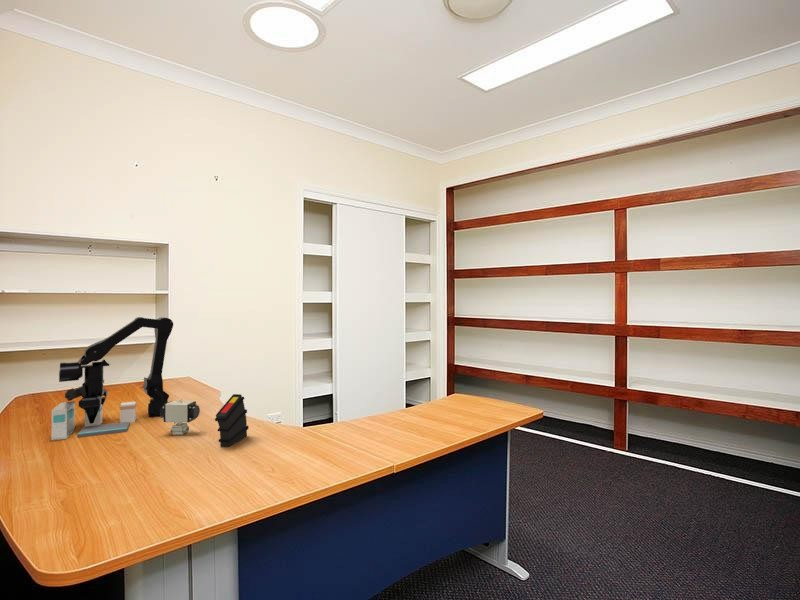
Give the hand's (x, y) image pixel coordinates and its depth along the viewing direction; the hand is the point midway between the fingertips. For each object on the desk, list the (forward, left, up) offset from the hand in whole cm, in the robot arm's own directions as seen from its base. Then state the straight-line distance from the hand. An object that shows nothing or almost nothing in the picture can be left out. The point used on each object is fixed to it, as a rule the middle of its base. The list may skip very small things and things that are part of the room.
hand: (93, 420), depth 158 cm
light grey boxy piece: (-11, +1, -2) cm, 11 cm away
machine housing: (+7, +10, -2) cm, 12 cm away
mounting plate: (-5, +11, -2) cm, 12 cm away
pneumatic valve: (-29, +27, -2) cm, 40 cm away
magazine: (-44, +45, -2) cm, 63 cm away
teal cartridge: (0, 0, -2) cm, 2 cm away
